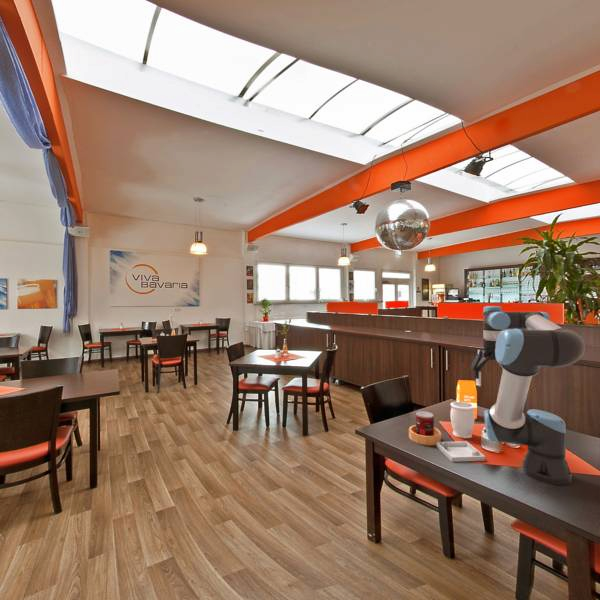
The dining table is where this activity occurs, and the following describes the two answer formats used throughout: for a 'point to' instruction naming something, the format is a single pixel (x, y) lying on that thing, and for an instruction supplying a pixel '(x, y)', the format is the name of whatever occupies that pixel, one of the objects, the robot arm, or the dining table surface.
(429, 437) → the bowl
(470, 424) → the jar
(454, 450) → the tray
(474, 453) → the pebble
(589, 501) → the dining table surface
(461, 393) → the orange juice
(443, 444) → the pebble
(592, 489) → the dining table surface
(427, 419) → the canned food
